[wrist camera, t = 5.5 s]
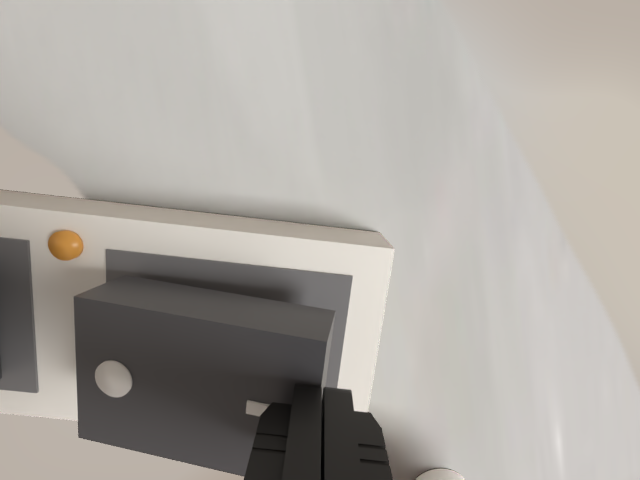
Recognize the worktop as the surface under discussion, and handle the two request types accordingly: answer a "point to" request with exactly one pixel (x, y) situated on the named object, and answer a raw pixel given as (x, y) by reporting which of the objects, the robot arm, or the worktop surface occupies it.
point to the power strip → (174, 267)
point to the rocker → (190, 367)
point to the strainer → (440, 475)
